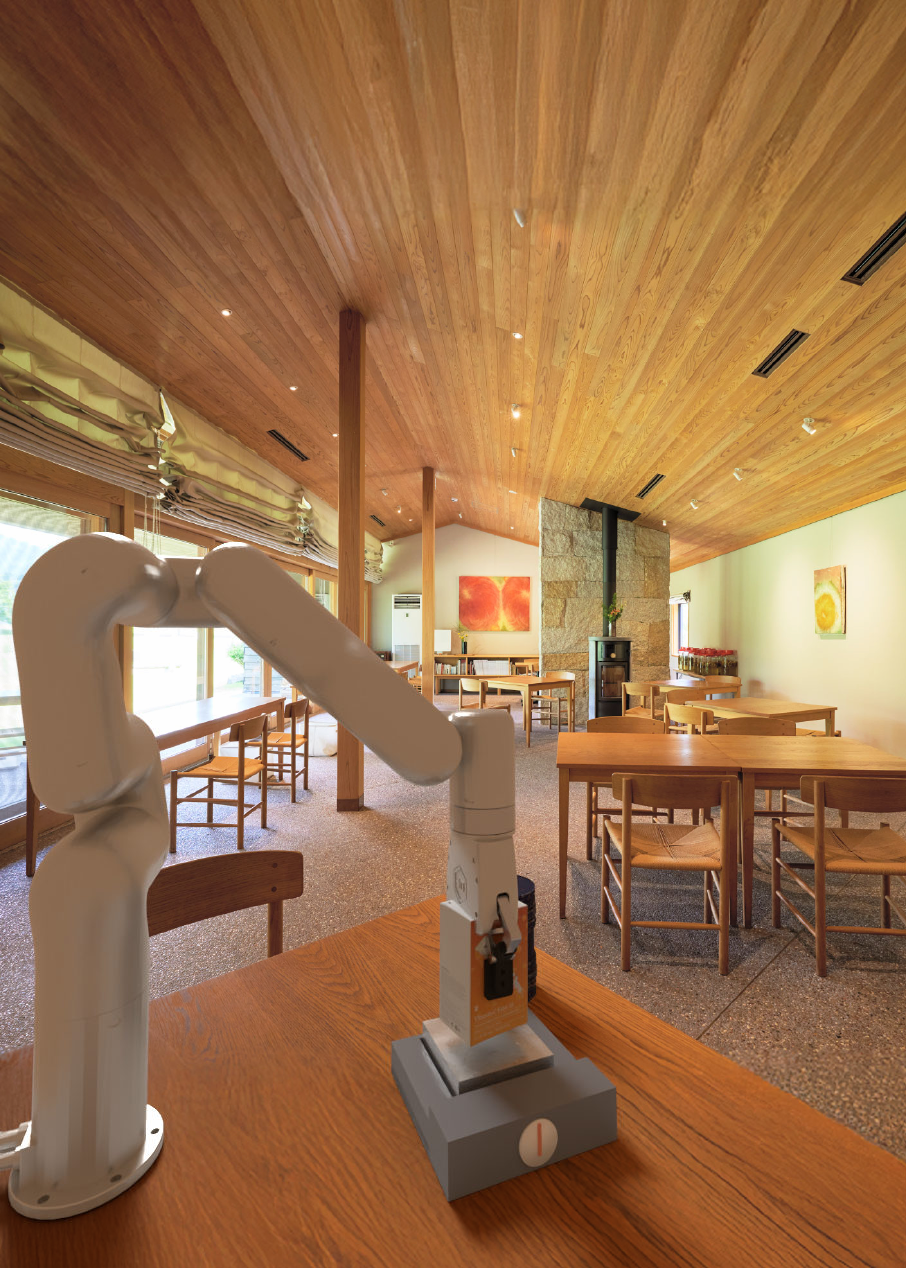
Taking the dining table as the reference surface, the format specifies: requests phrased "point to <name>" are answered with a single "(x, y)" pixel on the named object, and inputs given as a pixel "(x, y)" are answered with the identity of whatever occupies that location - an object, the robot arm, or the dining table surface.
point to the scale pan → (484, 1056)
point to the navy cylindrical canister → (529, 929)
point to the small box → (478, 978)
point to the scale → (505, 1115)
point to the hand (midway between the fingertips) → (483, 977)
